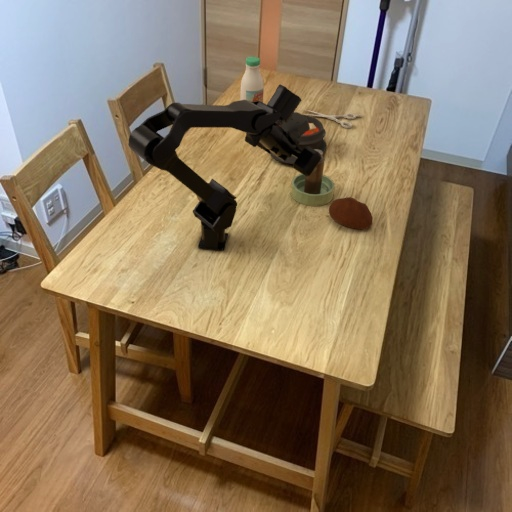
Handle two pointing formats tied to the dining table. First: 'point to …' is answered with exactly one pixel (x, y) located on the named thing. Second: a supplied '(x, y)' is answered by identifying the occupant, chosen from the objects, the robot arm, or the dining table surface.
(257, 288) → the dining table surface
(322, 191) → the green round dish
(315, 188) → the pepper mill
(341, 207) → the potato
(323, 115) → the scissors
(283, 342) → the dining table surface
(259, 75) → the milk bottle
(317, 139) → the casserole
